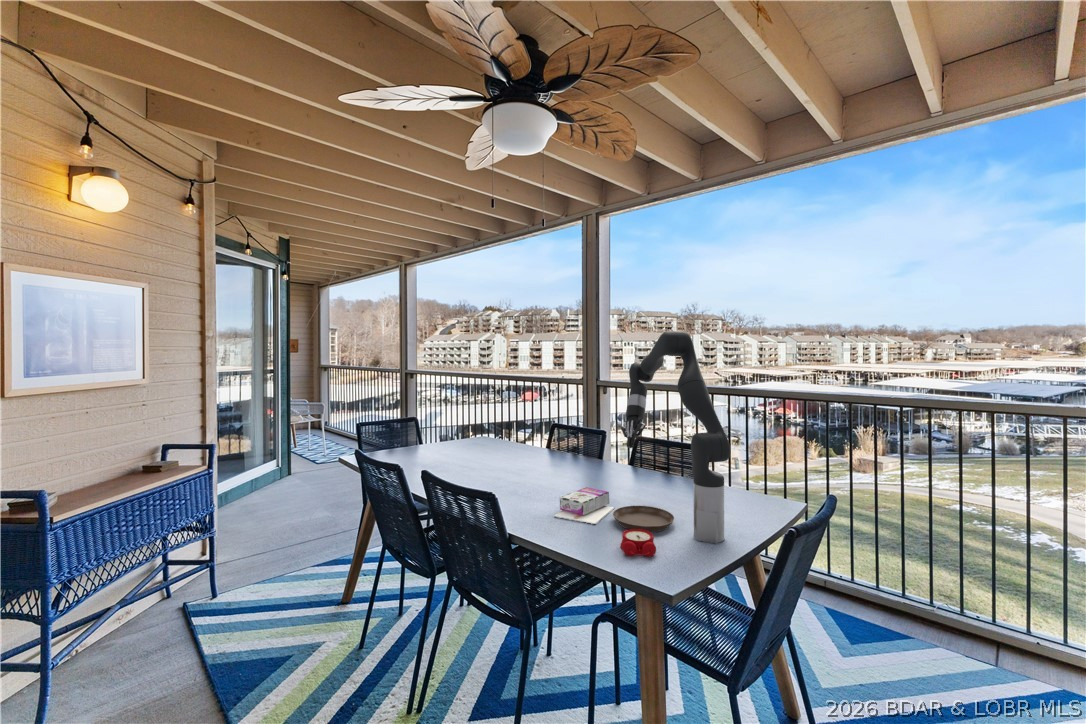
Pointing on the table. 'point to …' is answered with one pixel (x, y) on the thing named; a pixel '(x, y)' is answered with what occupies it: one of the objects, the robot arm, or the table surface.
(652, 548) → the alarm clock
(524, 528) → the table surface
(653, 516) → the plant saucer
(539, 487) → the table surface
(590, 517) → the card
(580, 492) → the candy bar box
